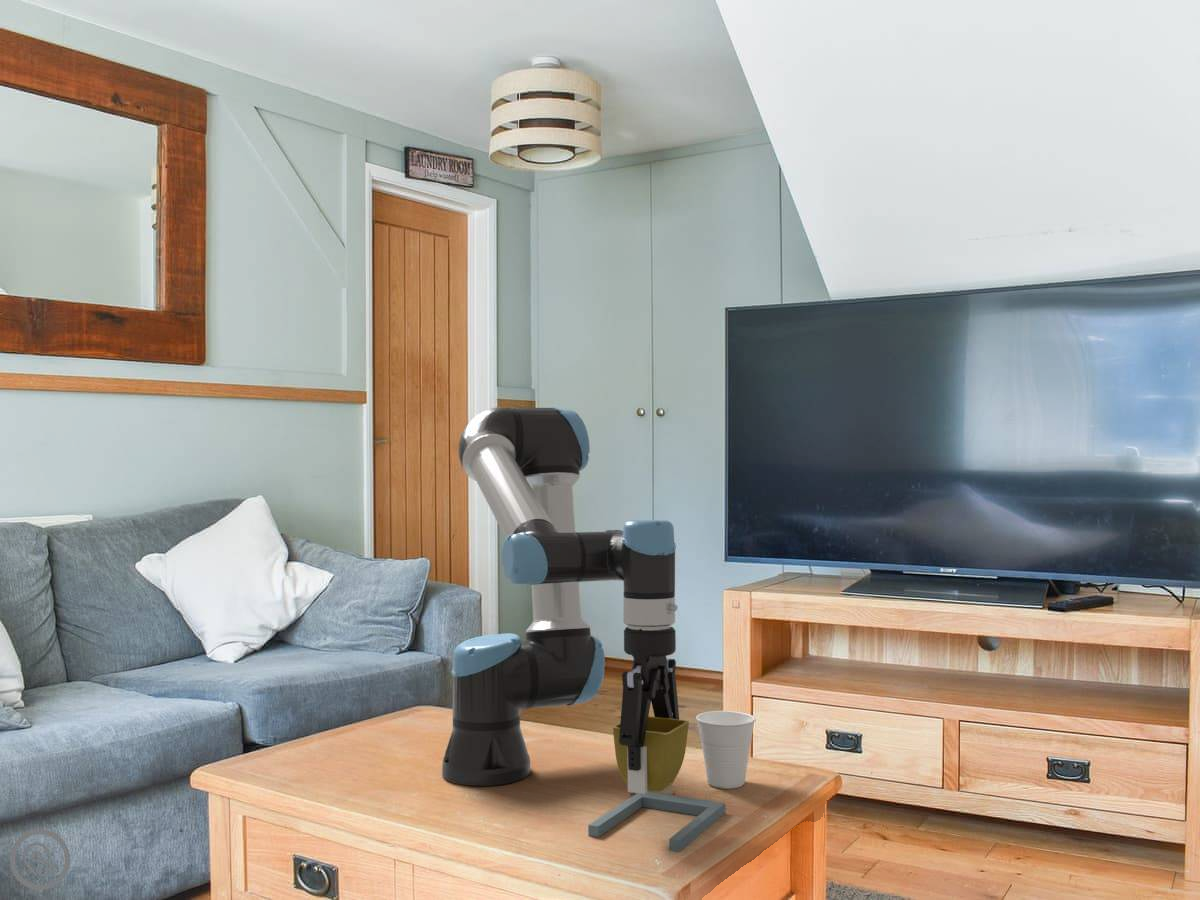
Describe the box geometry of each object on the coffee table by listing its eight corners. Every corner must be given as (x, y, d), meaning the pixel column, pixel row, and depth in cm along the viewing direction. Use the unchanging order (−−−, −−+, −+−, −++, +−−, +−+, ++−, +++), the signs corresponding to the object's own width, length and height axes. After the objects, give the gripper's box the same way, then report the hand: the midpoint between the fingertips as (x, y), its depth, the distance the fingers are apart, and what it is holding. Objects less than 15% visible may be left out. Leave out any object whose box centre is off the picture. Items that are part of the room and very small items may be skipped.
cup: (754, 794, 163) (754, 725, 163) (693, 791, 165) (692, 723, 165) (757, 777, 173) (757, 712, 173) (699, 773, 175) (699, 709, 175)
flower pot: (690, 781, 149) (690, 719, 149) (669, 798, 141) (668, 733, 141) (635, 774, 152) (635, 714, 153) (611, 790, 144) (611, 726, 145)
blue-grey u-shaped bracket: (679, 851, 138) (679, 840, 138) (588, 835, 144) (588, 824, 145) (725, 812, 154) (725, 803, 154) (641, 799, 160) (641, 790, 161)
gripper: (642, 637, 136) (643, 808, 135) (700, 619, 155) (702, 768, 154) (592, 634, 140) (593, 800, 139) (655, 616, 159) (657, 762, 158)
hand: (650, 783), depth 147 cm, fingers closed on flower pot, 8 cm apart
